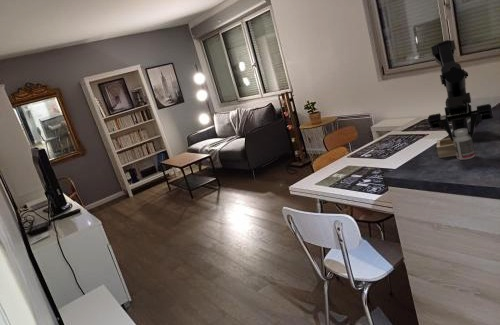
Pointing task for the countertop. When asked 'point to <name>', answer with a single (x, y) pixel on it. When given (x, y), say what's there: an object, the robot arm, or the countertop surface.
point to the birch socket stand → (445, 148)
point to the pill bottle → (463, 144)
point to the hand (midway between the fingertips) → (461, 138)
